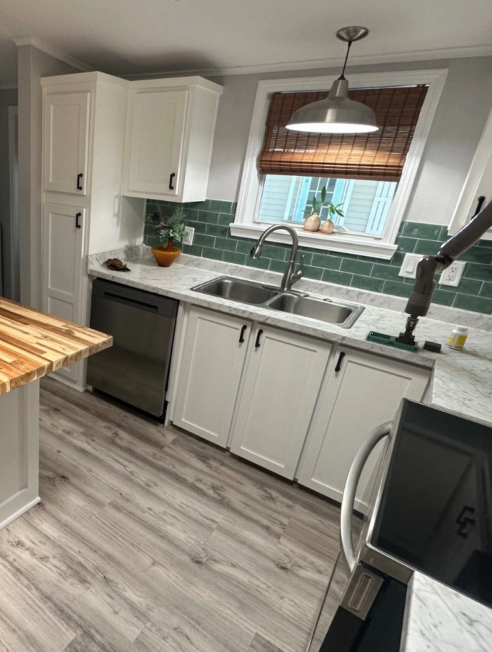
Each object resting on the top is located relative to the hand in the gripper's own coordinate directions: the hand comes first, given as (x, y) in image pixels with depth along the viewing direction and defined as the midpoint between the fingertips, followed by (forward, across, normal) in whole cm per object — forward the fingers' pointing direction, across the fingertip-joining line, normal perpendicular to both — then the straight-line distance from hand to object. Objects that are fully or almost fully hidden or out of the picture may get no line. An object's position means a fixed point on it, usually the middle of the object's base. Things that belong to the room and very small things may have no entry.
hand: (405, 340), depth 174 cm
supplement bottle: (+3, +18, -18) cm, 25 cm away
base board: (+3, 0, +4) cm, 5 cm away
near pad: (+1, 0, 0) cm, 1 cm away
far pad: (+3, +5, -10) cm, 11 cm away
